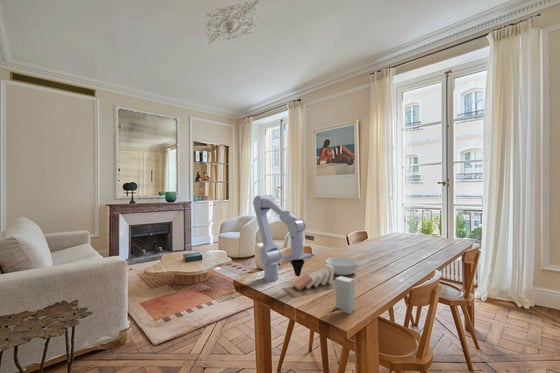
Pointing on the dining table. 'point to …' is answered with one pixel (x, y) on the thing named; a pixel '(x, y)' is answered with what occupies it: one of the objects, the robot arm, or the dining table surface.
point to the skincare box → (345, 294)
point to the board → (308, 290)
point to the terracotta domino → (302, 282)
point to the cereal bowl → (343, 265)
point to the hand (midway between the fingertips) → (297, 275)
